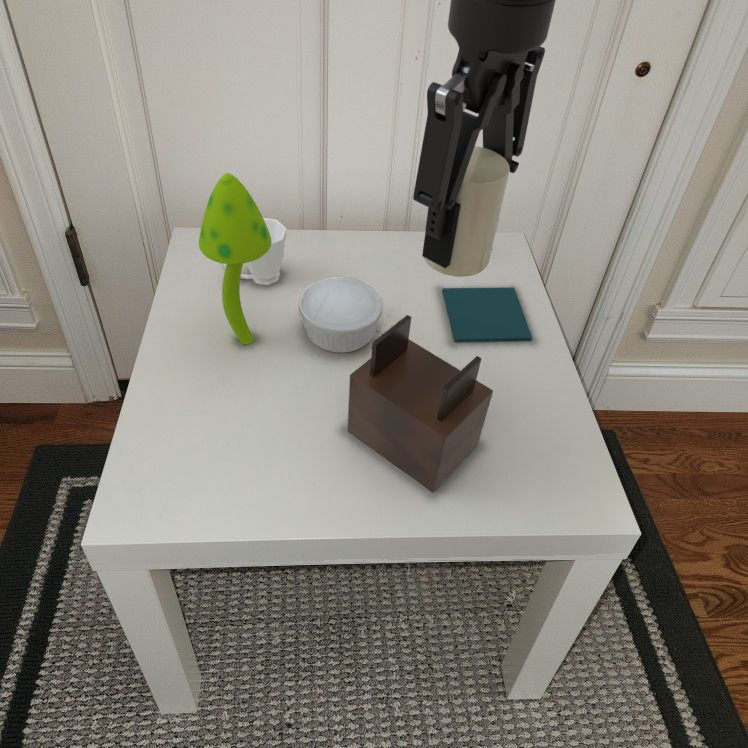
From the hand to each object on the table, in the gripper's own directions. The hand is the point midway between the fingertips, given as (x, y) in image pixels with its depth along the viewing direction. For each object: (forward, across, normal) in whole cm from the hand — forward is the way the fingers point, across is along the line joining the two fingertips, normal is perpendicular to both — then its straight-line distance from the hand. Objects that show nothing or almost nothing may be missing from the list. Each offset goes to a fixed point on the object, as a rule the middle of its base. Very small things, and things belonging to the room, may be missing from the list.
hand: (458, 243), depth 64 cm
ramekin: (+26, -3, -18) cm, 31 cm away
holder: (+25, +5, +1) cm, 26 cm away
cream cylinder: (+1, 0, 0) cm, 1 cm away
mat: (+25, -20, -4) cm, 33 cm away
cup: (+26, -3, -35) cm, 43 cm away
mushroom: (+25, +7, -26) cm, 37 cm away
